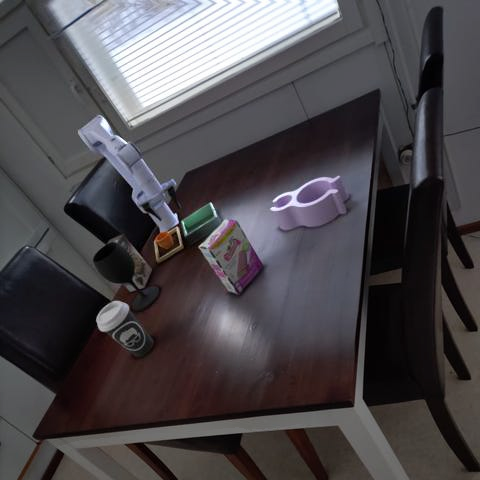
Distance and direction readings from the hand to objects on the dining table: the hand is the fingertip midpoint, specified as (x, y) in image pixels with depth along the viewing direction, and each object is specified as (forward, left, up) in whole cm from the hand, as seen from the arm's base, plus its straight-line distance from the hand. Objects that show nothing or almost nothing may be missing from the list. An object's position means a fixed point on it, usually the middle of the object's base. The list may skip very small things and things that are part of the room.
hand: (170, 213), depth 154 cm
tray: (+2, -7, -9) cm, 12 cm away
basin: (+4, +7, -9) cm, 12 cm away
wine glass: (+25, -18, -10) cm, 32 cm away
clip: (+33, +39, -10) cm, 52 cm away
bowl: (+2, -7, -9) cm, 11 cm away
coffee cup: (+48, -20, -10) cm, 53 cm away
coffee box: (+13, -19, -10) cm, 25 cm away
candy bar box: (+45, +14, -10) cm, 48 cm away
